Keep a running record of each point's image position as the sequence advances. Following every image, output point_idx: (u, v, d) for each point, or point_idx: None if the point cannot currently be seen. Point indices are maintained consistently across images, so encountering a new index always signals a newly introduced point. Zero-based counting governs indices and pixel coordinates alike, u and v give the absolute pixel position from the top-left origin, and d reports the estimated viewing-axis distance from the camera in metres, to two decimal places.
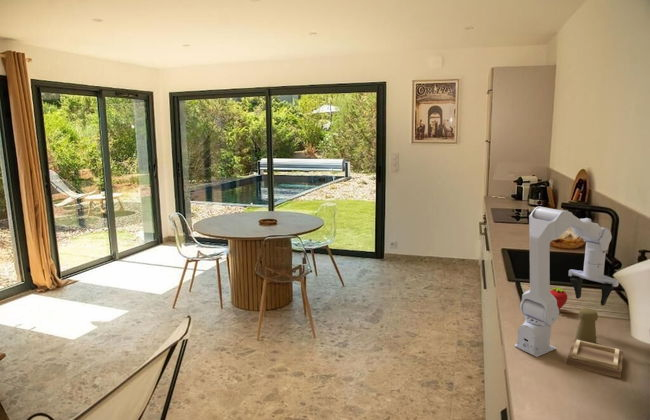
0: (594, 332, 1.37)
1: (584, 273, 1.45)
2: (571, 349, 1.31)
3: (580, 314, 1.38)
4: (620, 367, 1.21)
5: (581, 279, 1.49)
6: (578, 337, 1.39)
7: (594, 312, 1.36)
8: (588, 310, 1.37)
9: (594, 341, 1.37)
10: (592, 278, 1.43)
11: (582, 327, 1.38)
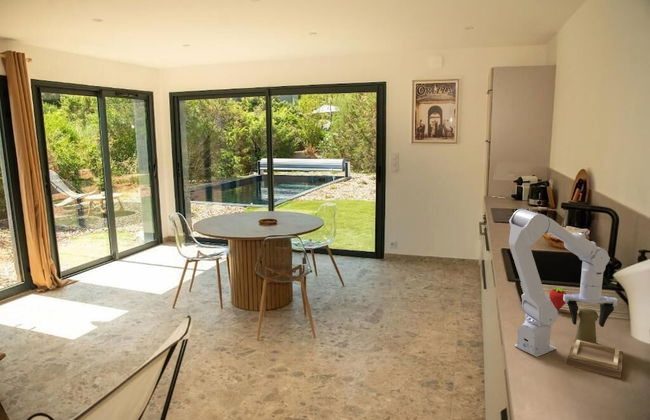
0: (594, 332, 1.37)
1: (585, 297, 1.35)
2: (571, 349, 1.31)
3: (580, 314, 1.38)
4: (620, 367, 1.21)
5: None
6: (578, 337, 1.39)
7: (594, 312, 1.36)
8: (588, 310, 1.37)
9: (594, 341, 1.37)
10: (596, 301, 1.34)
11: (582, 327, 1.38)
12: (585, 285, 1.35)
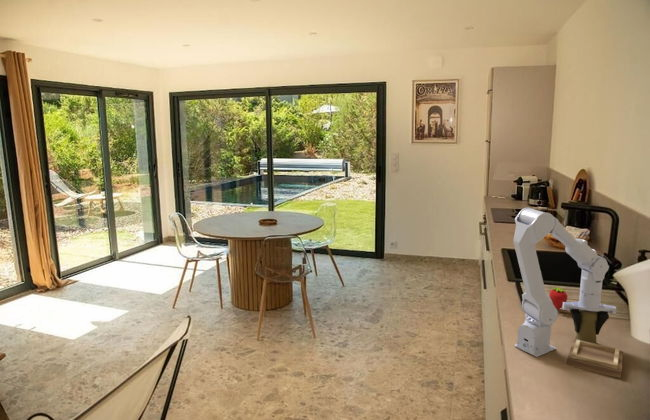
0: (594, 332, 1.37)
1: (584, 305, 1.36)
2: (571, 349, 1.31)
3: None
4: (620, 367, 1.21)
5: None
6: (578, 337, 1.39)
7: (594, 312, 1.36)
8: None
9: (594, 341, 1.37)
10: (595, 309, 1.35)
11: (582, 327, 1.38)
12: (584, 293, 1.35)
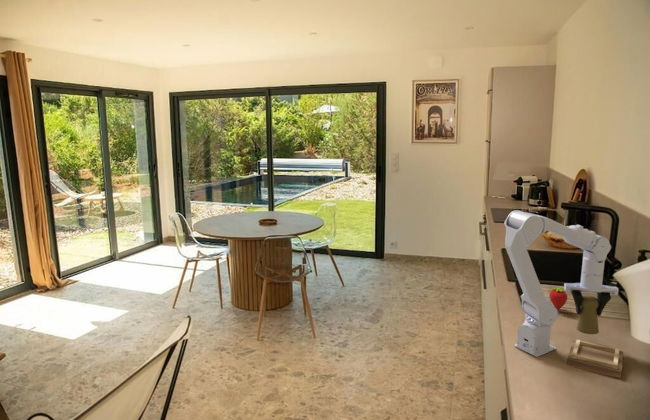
0: (595, 319, 1.36)
1: (586, 286, 1.35)
2: (571, 349, 1.31)
3: None
4: (620, 367, 1.21)
5: None
6: (580, 324, 1.38)
7: (595, 299, 1.36)
8: (589, 297, 1.37)
9: (596, 328, 1.36)
10: (597, 290, 1.33)
11: (583, 314, 1.37)
12: (586, 274, 1.34)
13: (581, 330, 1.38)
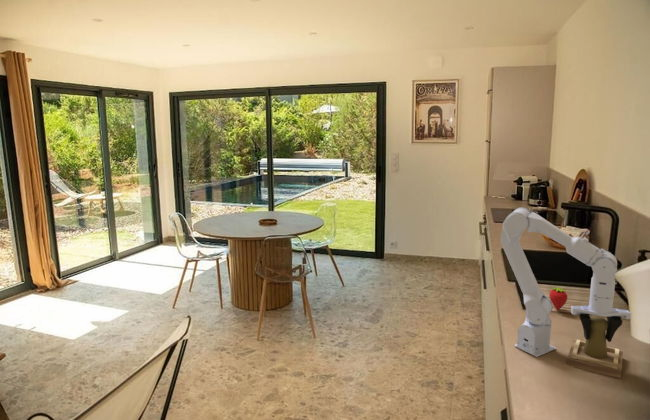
0: (604, 342, 1.26)
1: (595, 310, 1.24)
2: (571, 349, 1.31)
3: None
4: (620, 367, 1.21)
5: None
6: (587, 347, 1.28)
7: (604, 321, 1.26)
8: (597, 318, 1.27)
9: (604, 352, 1.26)
10: (607, 314, 1.23)
11: (591, 337, 1.27)
12: (595, 297, 1.24)
13: (588, 354, 1.28)
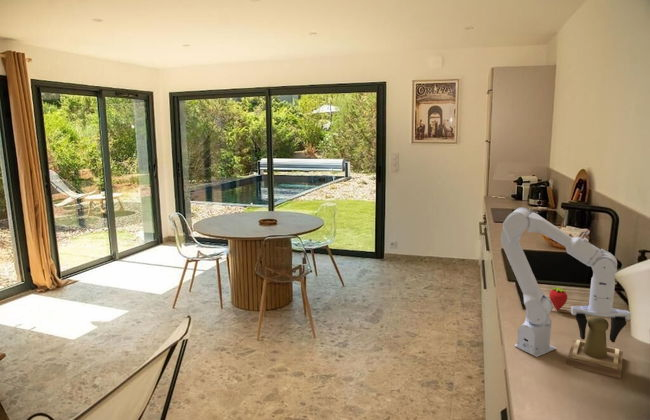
0: (604, 343, 1.26)
1: (595, 310, 1.24)
2: (571, 349, 1.31)
3: (589, 323, 1.27)
4: (620, 367, 1.21)
5: None
6: (587, 347, 1.28)
7: (604, 321, 1.26)
8: (598, 319, 1.27)
9: (604, 352, 1.26)
10: (607, 315, 1.23)
11: (591, 337, 1.27)
12: (595, 297, 1.24)
13: (588, 354, 1.28)
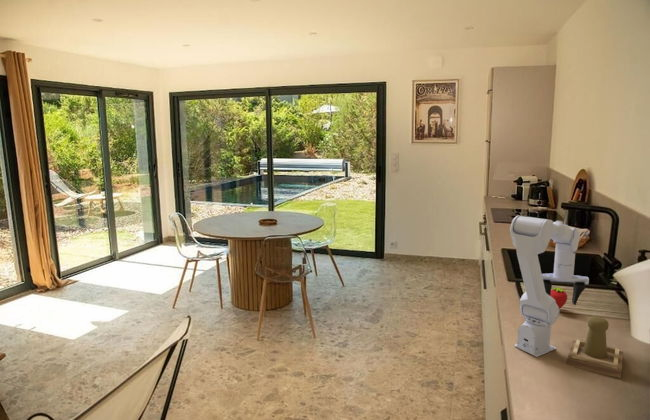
0: (604, 343, 1.26)
1: (558, 276, 1.42)
2: (571, 349, 1.31)
3: (589, 323, 1.27)
4: (620, 367, 1.21)
5: None
6: (587, 347, 1.28)
7: (604, 321, 1.26)
8: (598, 319, 1.27)
9: (604, 352, 1.26)
10: (568, 280, 1.41)
11: (591, 337, 1.27)
12: (558, 264, 1.41)
13: (588, 354, 1.28)
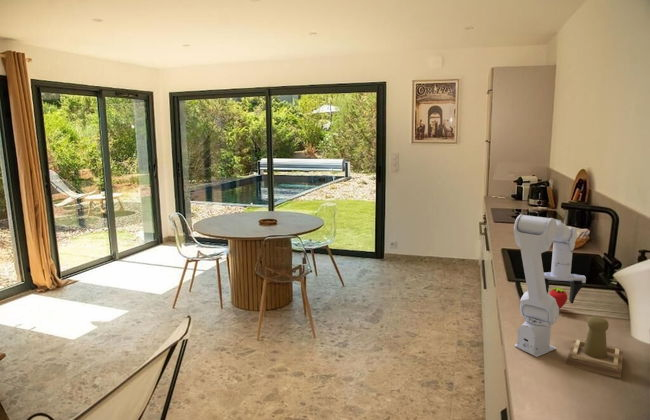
0: (604, 343, 1.26)
1: (555, 275, 1.43)
2: (571, 349, 1.31)
3: (589, 323, 1.27)
4: (620, 367, 1.21)
5: None
6: (587, 347, 1.28)
7: (604, 321, 1.26)
8: (598, 319, 1.27)
9: (604, 352, 1.26)
10: (565, 278, 1.42)
11: (591, 337, 1.27)
12: (555, 263, 1.43)
13: (588, 354, 1.28)
